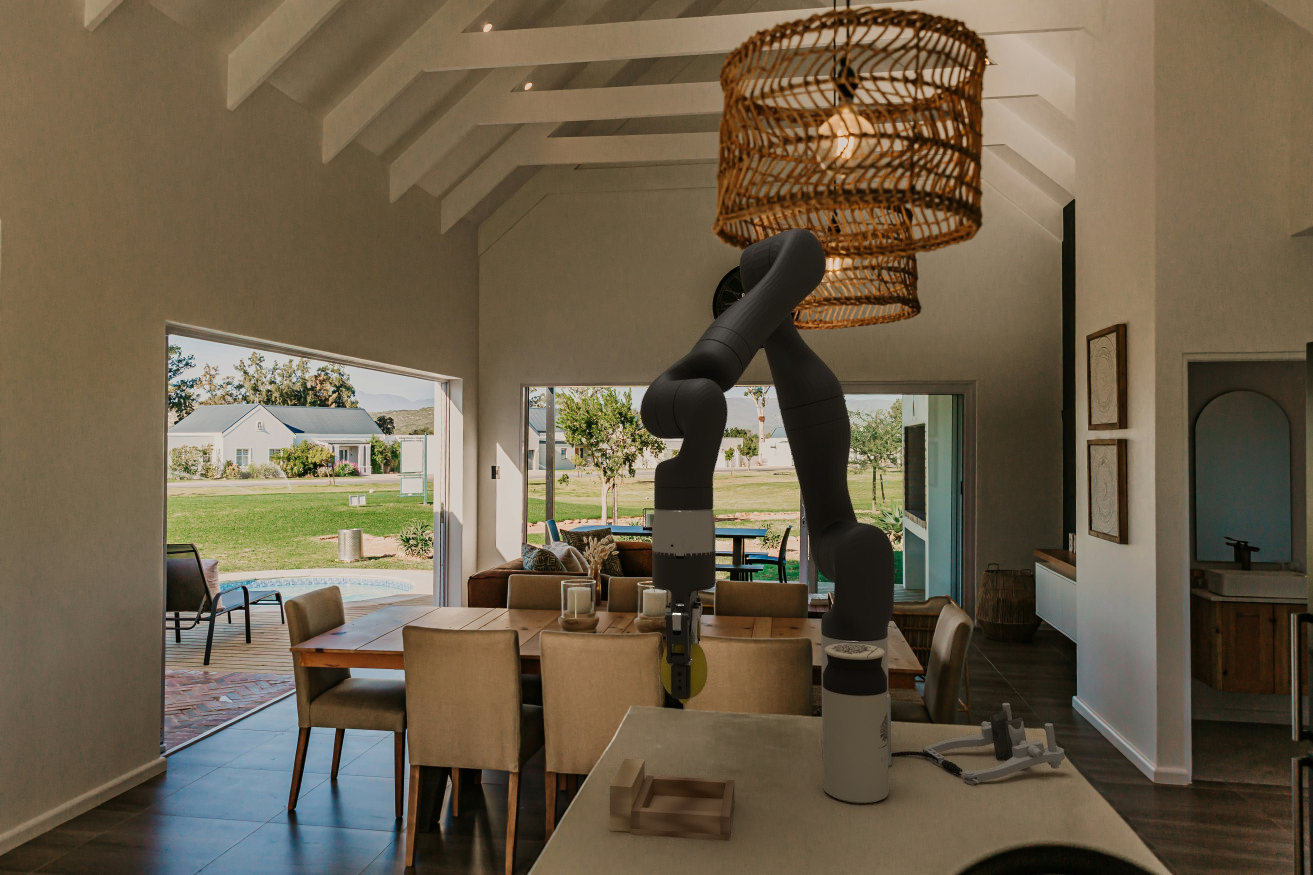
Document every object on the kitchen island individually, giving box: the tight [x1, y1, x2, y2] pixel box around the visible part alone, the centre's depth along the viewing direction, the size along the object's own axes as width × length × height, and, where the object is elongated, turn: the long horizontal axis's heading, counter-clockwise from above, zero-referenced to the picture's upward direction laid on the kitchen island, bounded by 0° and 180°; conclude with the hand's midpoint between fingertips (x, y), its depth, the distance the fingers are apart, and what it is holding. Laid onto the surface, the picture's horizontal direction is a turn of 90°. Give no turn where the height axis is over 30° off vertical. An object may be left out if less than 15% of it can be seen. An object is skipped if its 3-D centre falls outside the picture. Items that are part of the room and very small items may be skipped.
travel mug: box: [822, 643, 889, 804], centre depth 106 cm, size 8×8×18 cm
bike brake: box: [891, 702, 1066, 786], centre depth 115 cm, size 14×7×20 cm
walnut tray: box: [630, 774, 736, 842], centre depth 99 cm, size 11×11×3 cm
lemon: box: [660, 643, 709, 705], centre depth 99 cm, size 6×6×8 cm
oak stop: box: [609, 758, 646, 833], centre depth 99 cm, size 2×9×5 cm, turn 171°
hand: (684, 690), depth 99 cm, fingers closed on lemon, 5 cm apart
